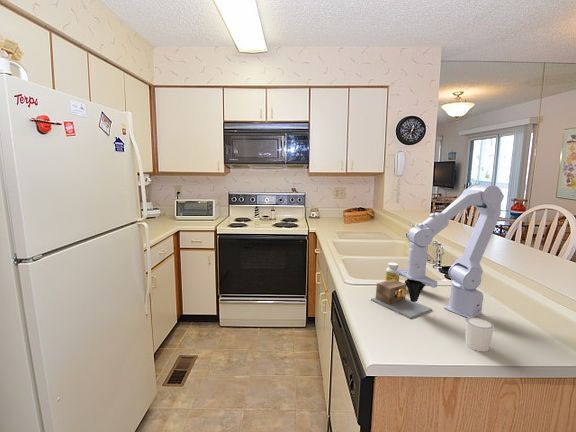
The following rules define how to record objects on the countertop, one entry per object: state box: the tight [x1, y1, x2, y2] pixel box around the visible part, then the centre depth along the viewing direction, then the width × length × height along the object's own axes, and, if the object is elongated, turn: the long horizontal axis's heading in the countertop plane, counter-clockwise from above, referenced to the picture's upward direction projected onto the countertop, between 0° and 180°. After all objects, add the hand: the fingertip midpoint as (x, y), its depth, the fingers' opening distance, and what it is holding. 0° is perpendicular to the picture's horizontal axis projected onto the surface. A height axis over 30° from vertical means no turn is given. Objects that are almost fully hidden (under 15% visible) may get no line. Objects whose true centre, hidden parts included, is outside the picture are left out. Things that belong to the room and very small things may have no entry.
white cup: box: [464, 317, 495, 353], centre depth 88 cm, size 7×7×7 cm
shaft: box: [395, 289, 407, 300], centre depth 118 cm, size 10×4×4 cm, turn 33°
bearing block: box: [375, 279, 407, 305], centre depth 118 cm, size 6×9×6 cm, turn 123°
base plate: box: [370, 296, 433, 320], centre depth 115 cm, size 17×12×1 cm
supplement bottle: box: [385, 262, 400, 282], centre depth 133 cm, size 5×5×10 cm
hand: (413, 300), depth 110 cm, fingers closed
